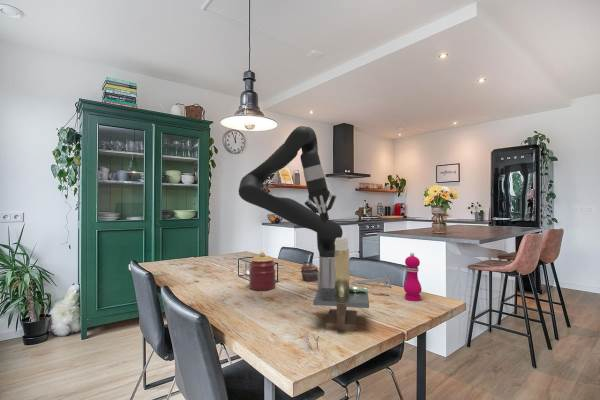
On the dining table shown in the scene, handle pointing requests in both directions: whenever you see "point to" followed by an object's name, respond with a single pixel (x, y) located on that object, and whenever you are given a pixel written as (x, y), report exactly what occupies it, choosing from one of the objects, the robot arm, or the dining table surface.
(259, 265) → the canister
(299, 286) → the dining table surface
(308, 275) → the cupcake
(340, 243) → the brushed metal stamp
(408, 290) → the pepper mill
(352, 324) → the stand
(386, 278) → the caliper
